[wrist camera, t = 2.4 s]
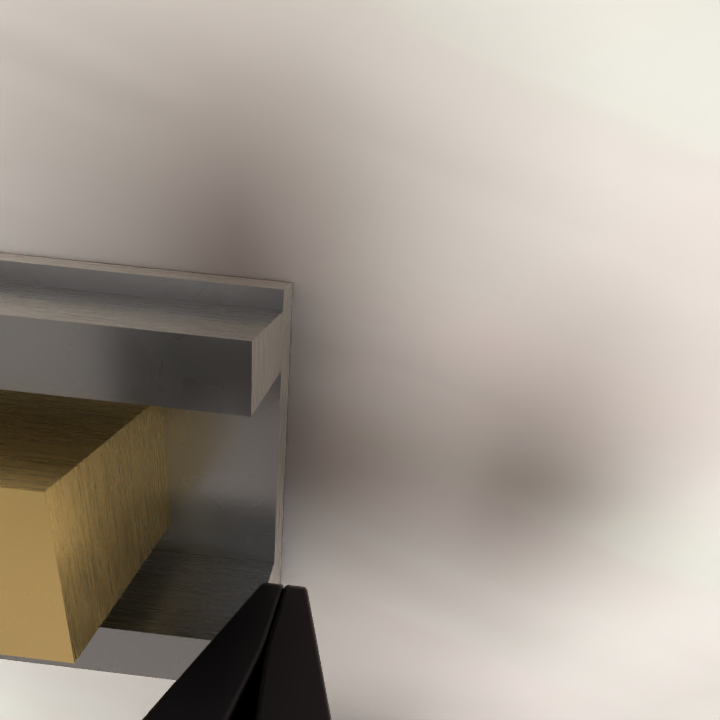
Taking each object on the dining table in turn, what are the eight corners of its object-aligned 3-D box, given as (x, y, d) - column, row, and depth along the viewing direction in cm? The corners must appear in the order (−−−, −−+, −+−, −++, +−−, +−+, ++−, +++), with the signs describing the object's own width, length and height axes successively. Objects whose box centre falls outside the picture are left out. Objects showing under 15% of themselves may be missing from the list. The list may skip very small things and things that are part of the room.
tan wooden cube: (170, 523, 12) (74, 663, 8) (33, 507, 12) (-125, 639, 8) (163, 395, 11) (44, 491, 7) (8, 378, 11) (-191, 465, 7)
